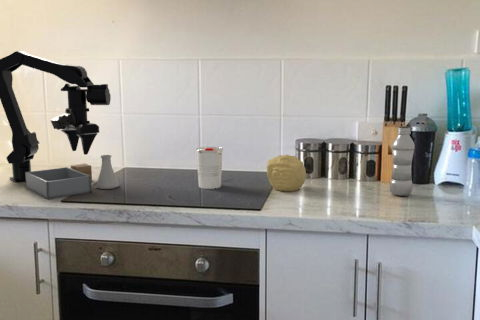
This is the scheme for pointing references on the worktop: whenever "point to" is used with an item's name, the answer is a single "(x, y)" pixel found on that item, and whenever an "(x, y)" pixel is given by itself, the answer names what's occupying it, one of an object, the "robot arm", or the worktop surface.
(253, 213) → the worktop surface
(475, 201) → the worktop surface
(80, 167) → the walnut cube
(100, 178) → the flask
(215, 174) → the white bucket
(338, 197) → the worktop surface
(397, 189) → the plastic bottle
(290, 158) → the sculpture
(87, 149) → the robot arm
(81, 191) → the tote
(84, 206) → the worktop surface
